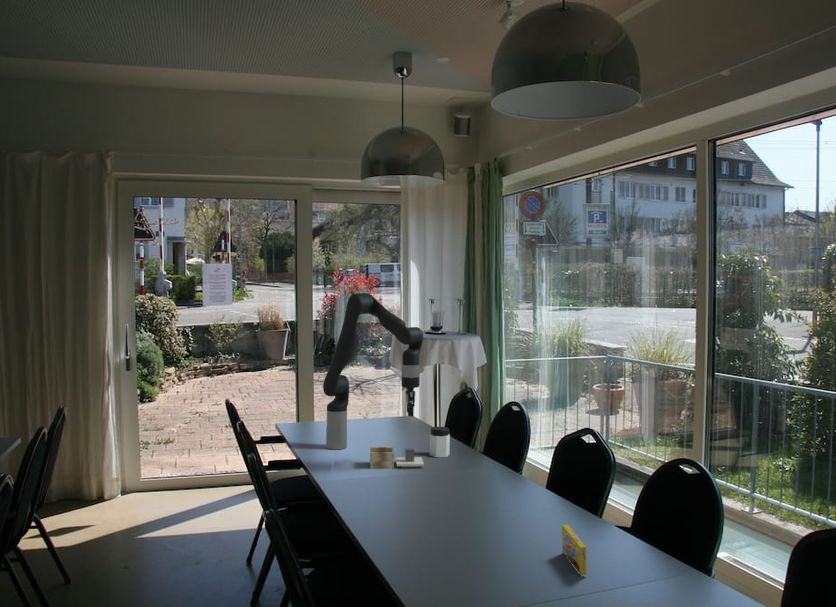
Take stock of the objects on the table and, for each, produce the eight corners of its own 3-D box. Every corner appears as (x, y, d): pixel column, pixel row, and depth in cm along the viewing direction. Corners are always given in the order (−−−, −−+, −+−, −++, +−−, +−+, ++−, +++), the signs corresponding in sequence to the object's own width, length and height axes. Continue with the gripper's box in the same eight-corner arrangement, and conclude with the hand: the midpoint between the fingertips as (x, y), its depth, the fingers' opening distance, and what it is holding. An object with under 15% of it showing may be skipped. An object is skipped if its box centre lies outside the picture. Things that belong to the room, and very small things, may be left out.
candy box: (561, 553, 198) (561, 524, 198) (568, 553, 198) (569, 524, 198) (579, 577, 182) (579, 546, 181) (587, 577, 182) (587, 546, 182)
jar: (453, 456, 307) (453, 429, 306) (439, 458, 302) (439, 431, 301) (439, 452, 314) (440, 425, 313) (426, 454, 308) (426, 427, 308)
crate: (370, 469, 283) (370, 452, 282) (370, 463, 292) (370, 447, 292) (393, 469, 283) (394, 452, 283) (392, 463, 293) (393, 447, 293)
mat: (397, 470, 282) (397, 469, 282) (396, 462, 295) (396, 461, 295) (423, 470, 282) (423, 469, 282) (420, 462, 295) (420, 460, 295)
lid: (396, 468, 283) (396, 452, 282) (395, 461, 294) (395, 445, 293) (423, 468, 283) (423, 451, 283) (421, 461, 294) (421, 445, 294)
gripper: (400, 373, 294) (400, 411, 295) (402, 377, 280) (401, 417, 280) (418, 373, 295) (417, 411, 295) (421, 377, 280) (420, 417, 281)
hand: (410, 414), depth 288 cm, fingers open, 8 cm apart
